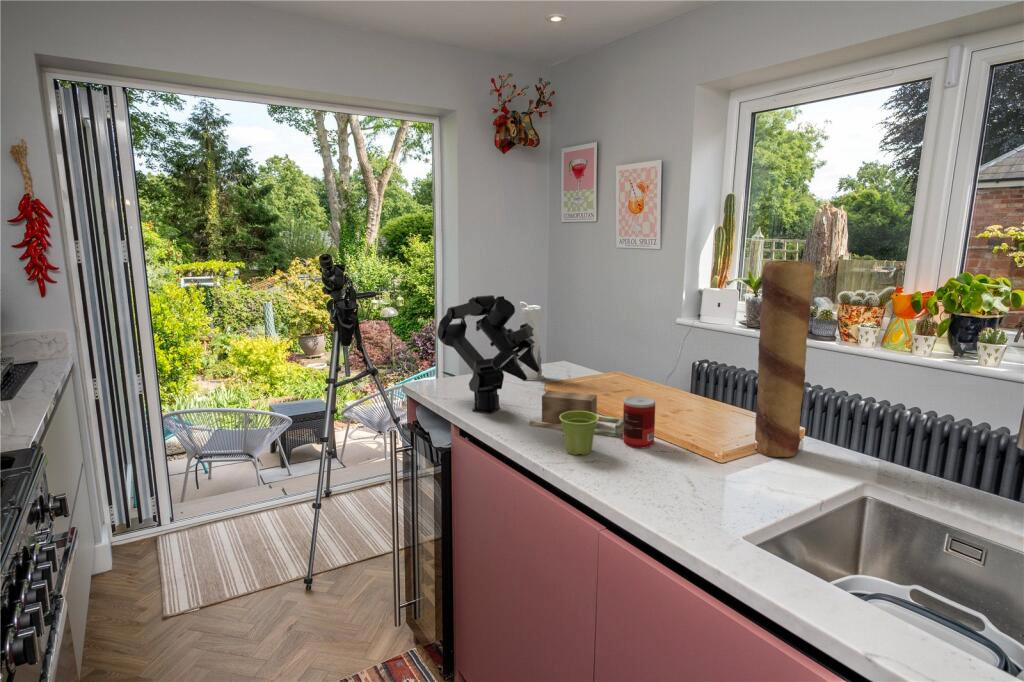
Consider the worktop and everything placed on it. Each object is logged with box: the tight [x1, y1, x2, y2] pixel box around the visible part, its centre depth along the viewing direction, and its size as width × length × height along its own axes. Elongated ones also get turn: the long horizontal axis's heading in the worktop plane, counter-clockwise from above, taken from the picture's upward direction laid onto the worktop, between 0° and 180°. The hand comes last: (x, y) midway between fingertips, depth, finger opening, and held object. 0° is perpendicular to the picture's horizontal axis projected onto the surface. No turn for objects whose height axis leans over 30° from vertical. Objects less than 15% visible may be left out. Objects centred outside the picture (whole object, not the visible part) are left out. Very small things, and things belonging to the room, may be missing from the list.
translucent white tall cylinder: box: [519, 301, 545, 382], centre depth 206 cm, size 8×8×28 cm
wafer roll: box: [754, 259, 815, 459], centre depth 133 cm, size 10×11×45 cm
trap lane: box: [529, 415, 623, 438], centre depth 158 cm, size 25×22×3 cm
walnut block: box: [541, 390, 598, 424], centre depth 159 cm, size 14×6×8 cm, turn 69°
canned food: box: [622, 395, 656, 449], centre depth 142 cm, size 8×8×11 cm
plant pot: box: [559, 411, 600, 456], centre depth 138 cm, size 9×9×9 cm
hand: (532, 375), depth 162 cm, fingers open, 9 cm apart
